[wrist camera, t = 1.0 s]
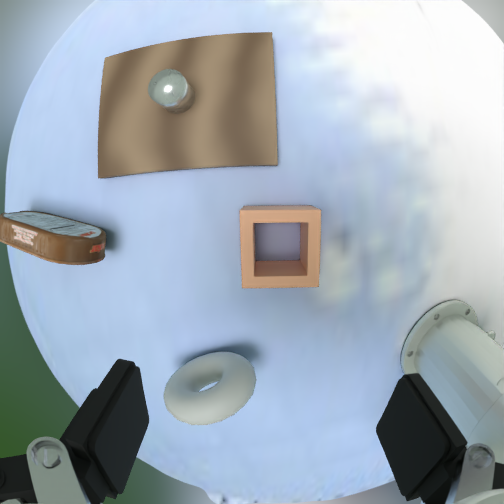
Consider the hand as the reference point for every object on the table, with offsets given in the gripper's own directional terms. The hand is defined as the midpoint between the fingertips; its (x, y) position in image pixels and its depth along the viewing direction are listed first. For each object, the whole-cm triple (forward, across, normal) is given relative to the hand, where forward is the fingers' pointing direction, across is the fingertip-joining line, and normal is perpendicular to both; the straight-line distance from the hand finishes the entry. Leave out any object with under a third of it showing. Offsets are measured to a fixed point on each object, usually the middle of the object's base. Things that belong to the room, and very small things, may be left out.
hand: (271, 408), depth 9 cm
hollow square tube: (+20, -2, -2) cm, 20 cm away
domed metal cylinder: (+19, +9, -15) cm, 26 cm away
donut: (+20, +4, +13) cm, 24 cm away
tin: (+21, +22, -1) cm, 31 cm away
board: (+20, +9, -15) cm, 27 cm away
